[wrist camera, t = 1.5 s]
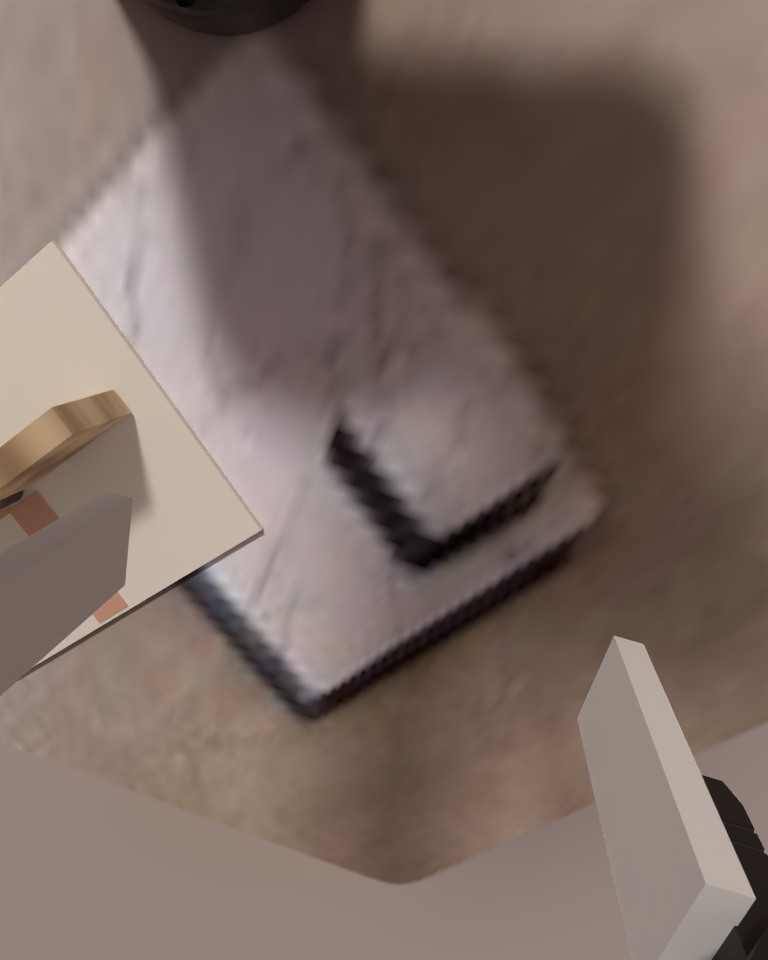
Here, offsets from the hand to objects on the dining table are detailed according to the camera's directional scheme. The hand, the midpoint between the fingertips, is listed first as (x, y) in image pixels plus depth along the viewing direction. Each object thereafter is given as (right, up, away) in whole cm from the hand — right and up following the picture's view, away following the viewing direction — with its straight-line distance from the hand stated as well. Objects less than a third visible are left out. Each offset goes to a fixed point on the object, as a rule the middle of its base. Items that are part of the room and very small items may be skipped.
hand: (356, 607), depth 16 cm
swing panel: (-22, +5, +25) cm, 33 cm away
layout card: (-24, +3, +27) cm, 36 cm away
